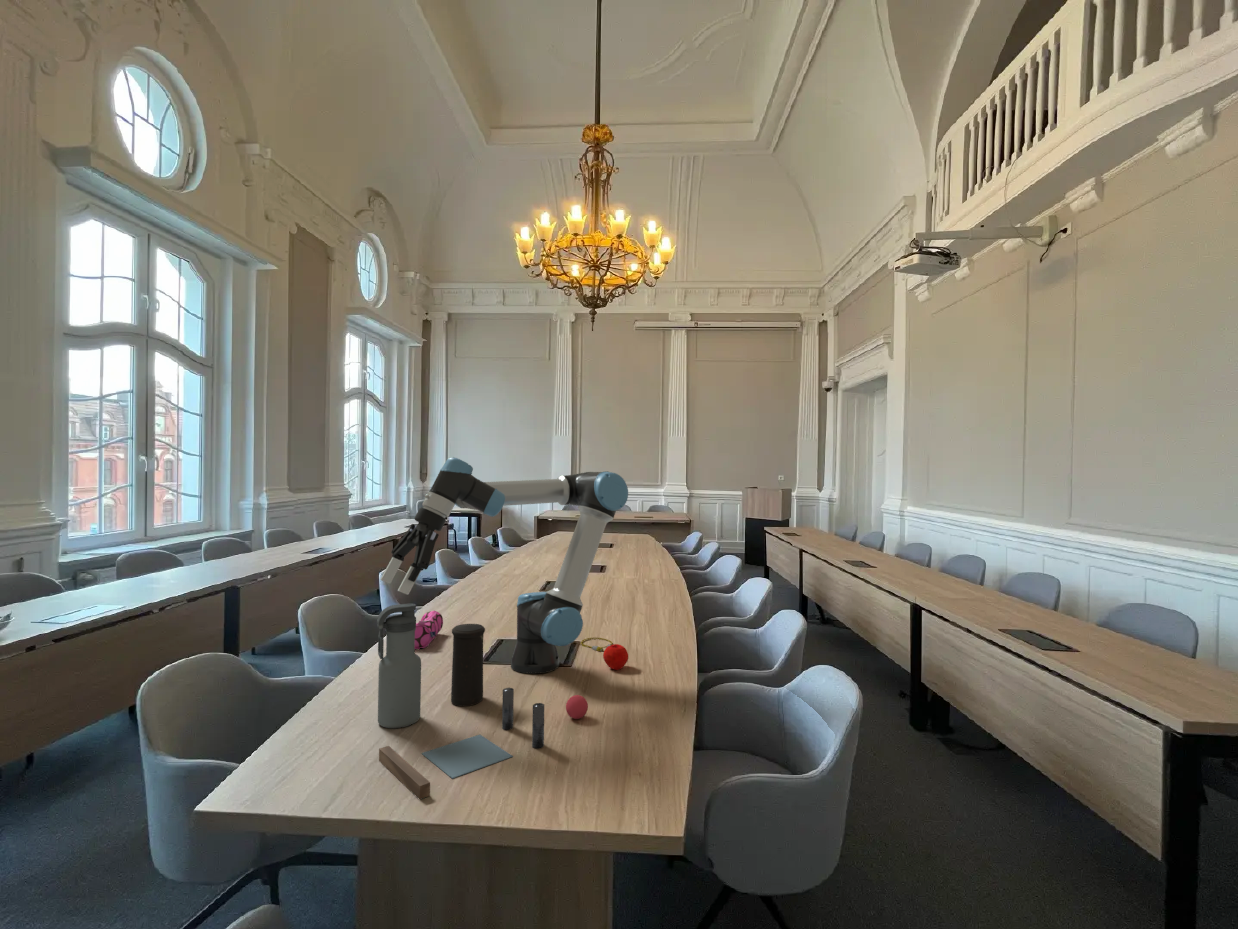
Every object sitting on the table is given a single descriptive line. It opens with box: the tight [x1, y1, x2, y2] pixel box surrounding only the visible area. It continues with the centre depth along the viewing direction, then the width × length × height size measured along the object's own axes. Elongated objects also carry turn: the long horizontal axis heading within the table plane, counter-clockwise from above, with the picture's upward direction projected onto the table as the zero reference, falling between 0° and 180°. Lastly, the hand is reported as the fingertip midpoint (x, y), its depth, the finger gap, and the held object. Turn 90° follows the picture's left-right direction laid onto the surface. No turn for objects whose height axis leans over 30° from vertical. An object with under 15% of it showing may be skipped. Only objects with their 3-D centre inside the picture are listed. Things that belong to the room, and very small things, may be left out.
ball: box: [565, 694, 589, 720], centre depth 148 cm, size 6×6×6 cm
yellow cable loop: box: [580, 637, 613, 653], centre depth 211 cm, size 12×16×2 cm
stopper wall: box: [378, 745, 431, 800], centre depth 118 cm, size 2×20×2 cm, turn 43°
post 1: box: [501, 687, 515, 731], centre depth 142 cm, size 3×3×9 cm
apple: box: [602, 643, 629, 671], centre depth 186 cm, size 8×8×7 cm
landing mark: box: [421, 734, 514, 780], centre depth 127 cm, size 14×14×1 cm
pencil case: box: [415, 610, 444, 650], centre depth 213 cm, size 21×10×10 cm, turn 7°
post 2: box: [531, 702, 545, 750], centre depth 132 cm, size 3×3×9 cm
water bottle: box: [376, 603, 422, 729], centre depth 145 cm, size 10×10×28 cm
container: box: [450, 623, 486, 707], centre depth 158 cm, size 9×9×20 cm
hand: (393, 587), depth 151 cm, fingers open, 13 cm apart
